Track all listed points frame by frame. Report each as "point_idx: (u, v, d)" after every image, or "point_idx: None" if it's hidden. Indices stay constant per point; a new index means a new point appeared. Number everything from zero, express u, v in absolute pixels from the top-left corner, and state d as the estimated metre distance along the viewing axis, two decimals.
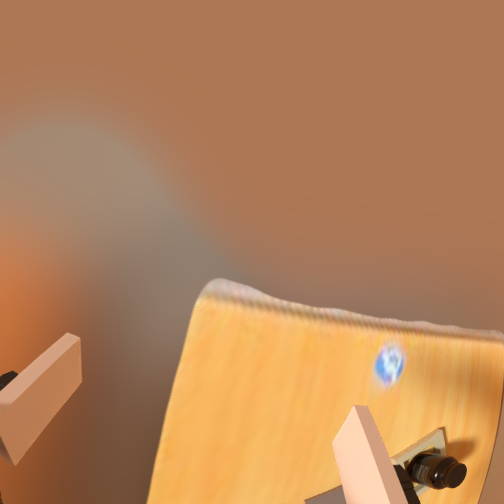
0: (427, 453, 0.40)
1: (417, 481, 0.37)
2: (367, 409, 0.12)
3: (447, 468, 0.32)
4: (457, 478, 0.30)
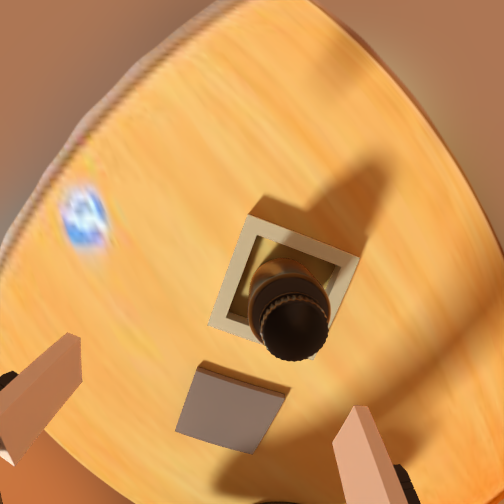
0: (256, 273, 0.30)
1: None
2: (367, 409, 0.12)
3: None
4: (299, 336, 0.20)
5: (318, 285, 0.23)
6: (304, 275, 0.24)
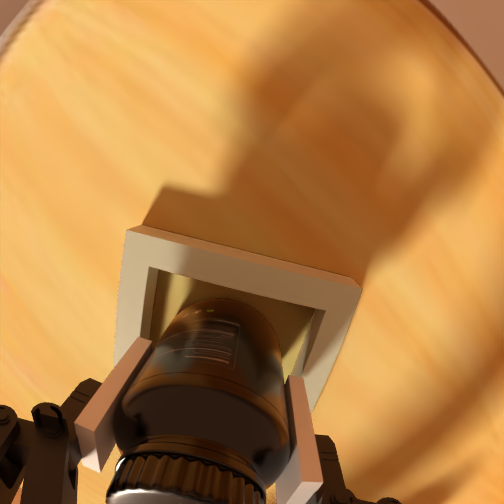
0: None
1: None
2: (302, 380, 0.14)
3: None
4: None
5: (247, 406, 0.09)
6: (211, 383, 0.09)
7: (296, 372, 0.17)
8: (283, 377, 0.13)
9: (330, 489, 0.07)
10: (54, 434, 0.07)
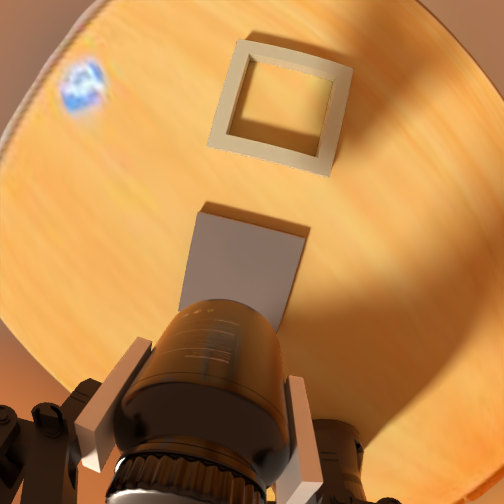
0: None
1: None
2: (302, 380, 0.14)
3: None
4: None
5: (248, 406, 0.09)
6: (211, 383, 0.09)
7: (325, 118, 0.28)
8: (283, 377, 0.13)
9: (330, 489, 0.07)
10: (54, 434, 0.07)
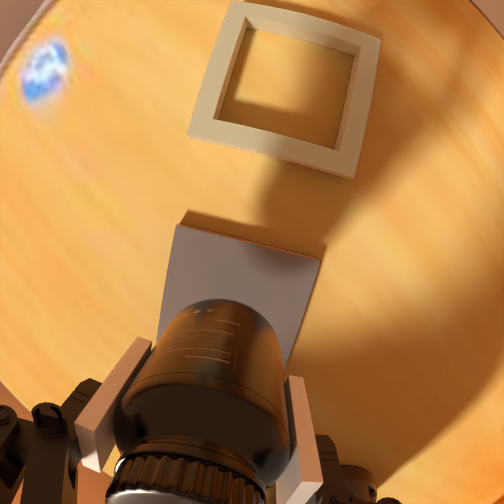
0: None
1: None
2: (302, 380, 0.14)
3: None
4: None
5: (248, 406, 0.09)
6: (211, 383, 0.09)
7: (347, 100, 0.20)
8: (283, 377, 0.13)
9: (330, 489, 0.07)
10: (54, 434, 0.07)
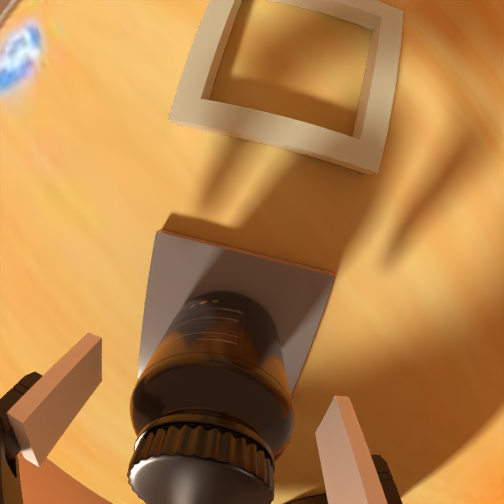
0: None
1: None
2: (348, 399, 0.13)
3: None
4: (209, 501, 0.07)
5: (256, 380, 0.10)
6: (222, 360, 0.10)
7: (367, 79, 0.16)
8: (283, 361, 0.15)
9: None
10: None
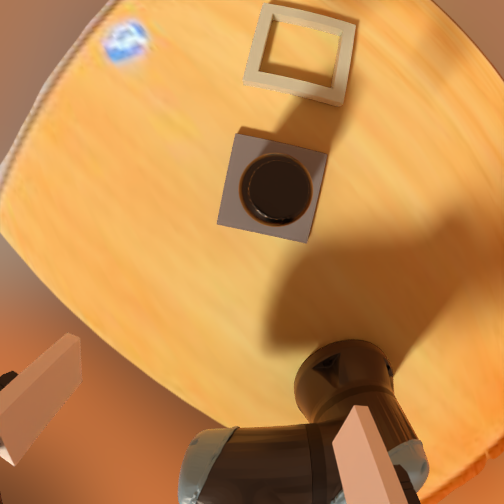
0: None
1: None
2: (367, 409, 0.12)
3: (248, 194, 0.25)
4: (283, 193, 0.24)
5: (296, 159, 0.26)
6: (282, 153, 0.26)
7: (336, 61, 0.31)
8: None
9: None
10: None
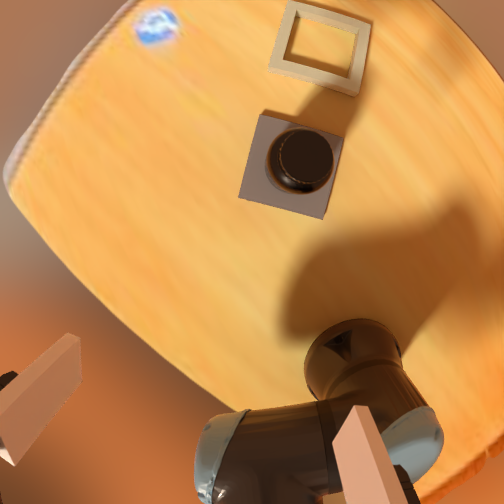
0: None
1: None
2: (367, 409, 0.12)
3: None
4: (310, 159, 0.25)
5: (320, 134, 0.28)
6: None
7: (352, 56, 0.33)
8: None
9: None
10: None
